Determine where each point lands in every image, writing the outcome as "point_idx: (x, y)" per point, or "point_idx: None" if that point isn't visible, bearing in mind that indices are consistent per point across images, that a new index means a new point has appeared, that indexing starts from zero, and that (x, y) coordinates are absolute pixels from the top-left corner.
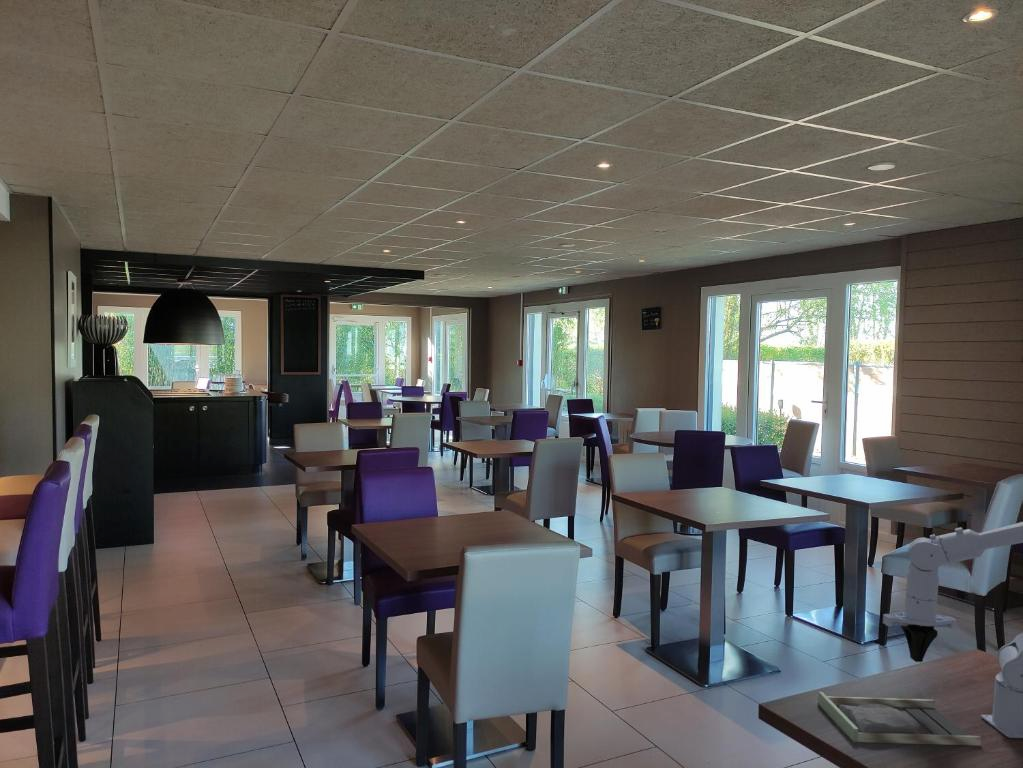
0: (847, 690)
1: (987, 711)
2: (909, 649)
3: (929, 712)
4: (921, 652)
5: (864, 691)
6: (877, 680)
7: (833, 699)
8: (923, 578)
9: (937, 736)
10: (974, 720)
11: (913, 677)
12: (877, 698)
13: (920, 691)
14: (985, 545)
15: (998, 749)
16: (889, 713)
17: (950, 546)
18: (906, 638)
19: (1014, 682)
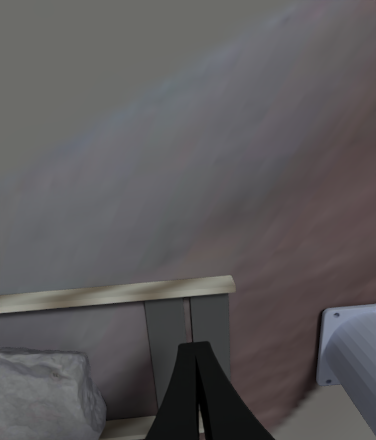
0: (15, 212)
1: (366, 274)
2: (173, 372)
3: (200, 312)
4: (204, 431)
5: (69, 211)
6: (146, 122)
7: None
8: None
9: (142, 437)
10: (296, 321)
11: (293, 76)
12: (67, 304)
13: (252, 185)
14: None
15: (262, 416)
16: (47, 421)
17: None
18: (152, 426)
19: None
